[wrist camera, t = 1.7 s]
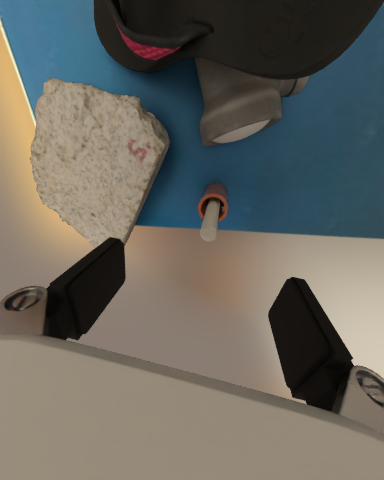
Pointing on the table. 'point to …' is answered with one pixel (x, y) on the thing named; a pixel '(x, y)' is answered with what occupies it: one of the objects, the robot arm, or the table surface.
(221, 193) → the pen cup
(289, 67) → the sandal
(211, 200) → the stylus
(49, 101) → the rock
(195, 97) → the table surface
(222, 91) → the pipe fitting
